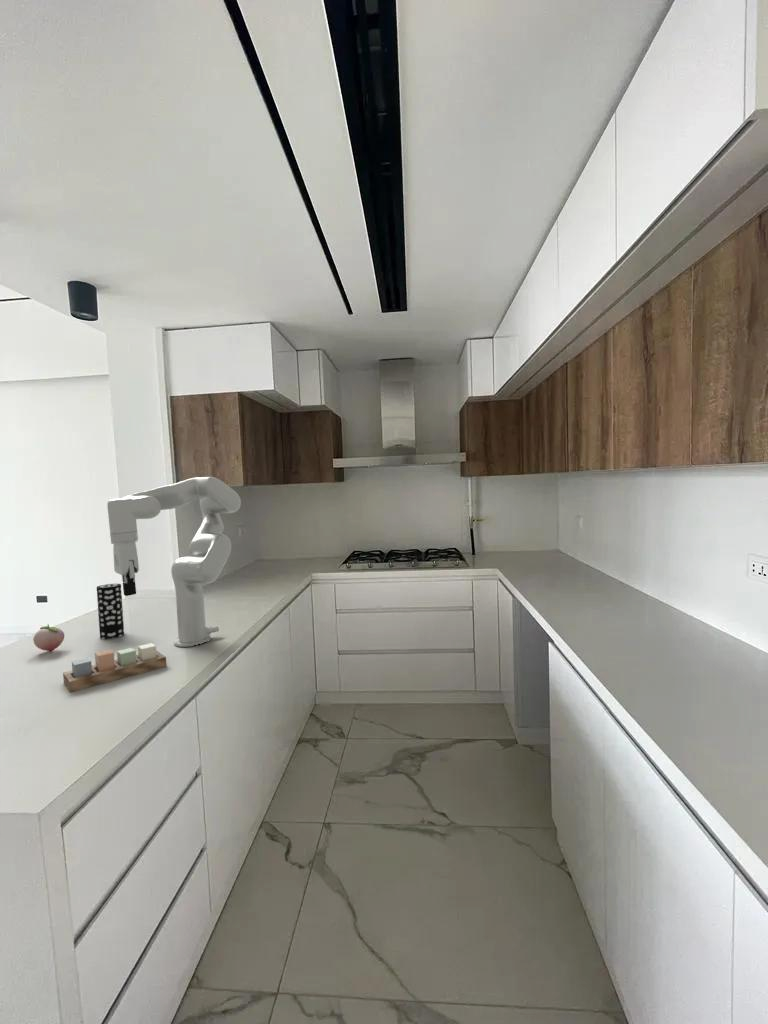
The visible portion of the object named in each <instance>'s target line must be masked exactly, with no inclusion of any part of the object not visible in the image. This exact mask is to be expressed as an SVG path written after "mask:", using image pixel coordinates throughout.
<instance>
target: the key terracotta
mask: <svg viewBox="0 0 768 1024" xmlns="http://www.w3.org/2000/svg"><path fill="white" fill-rule="evenodd" d="M94 660H95V661H94V662H95V665H96V670H97V671H98V672H99V671H103V670H107V669H111V668H115V662H114V660H115V652H114V651H113V650H112V649H105V650H102V651H101V650H100V651H97V652H95V653H94Z"/></svg>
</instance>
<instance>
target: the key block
mask: <svg viewBox="0 0 768 1024" xmlns="http://www.w3.org/2000/svg"><path fill="white" fill-rule="evenodd" d="M156 653H157V657H155V658H151V659H147V660H143V661H141V660H140V659H139V655H138V653H136V662H135V663H131V664H127V665H123V666H119V665H118V658H116V659H114V662H115V668H111V669H107V670H103V671H99V672H98V671H97V670H96V664H93V665H92V674H88V675H84V676H80V677H76V678H73V673H72V670H68V671H64V672H62V676H63V684H64V685H65V687H66V688H67V689H68V692H69V693H72V692H77V691H80V690H83V689H87V687H88V688H92V687H94V686H99V685H102V684H101V683H103V684H105V682H106V683H110V682H113V680H114V681H116V680H117V679H118V680H120V678H121V679H125V678H128V676H129V677H132V676H136V675H139V674H143V673H146V672H150V671H155V670H157V669H161V668H165V667H167V666H168V665H167V657H166V655H164V654H162V653H161V652H160V651H158V650H157V649H156ZM124 677H125V678H124ZM109 681H110V682H109ZM98 684H99V685H98ZM91 686H92V687H91Z"/></svg>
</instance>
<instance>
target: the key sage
mask: <svg viewBox="0 0 768 1024" xmlns="http://www.w3.org/2000/svg"><path fill="white" fill-rule="evenodd" d="M116 655H117V656H116V657H117V658H116V659H118V665H119V666H123V665H127V664H131V663H135V662H136V655H137V651H136V649H134V648H133V647H129V648H125V649H120V650H117V651H116Z"/></svg>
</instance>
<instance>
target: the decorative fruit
mask: <svg viewBox="0 0 768 1024" xmlns="http://www.w3.org/2000/svg"><path fill="white" fill-rule="evenodd" d="M32 640H33V643H34V645H35V647H36V648H38V649H39V650H42V651H47V652H49V651H51V652H53V651H54V650H55V649H57V648H59V646H60V645H62V643H63V641H64V640H65V632H64V631H63V630H62V629H60V628H59V627H56V626H55V627H54V626H50V625H49V623H47V625H45V626H41V627H40V628H39V630H38V631H37V632H36V633H35V634H34V635H33V639H32Z"/></svg>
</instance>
